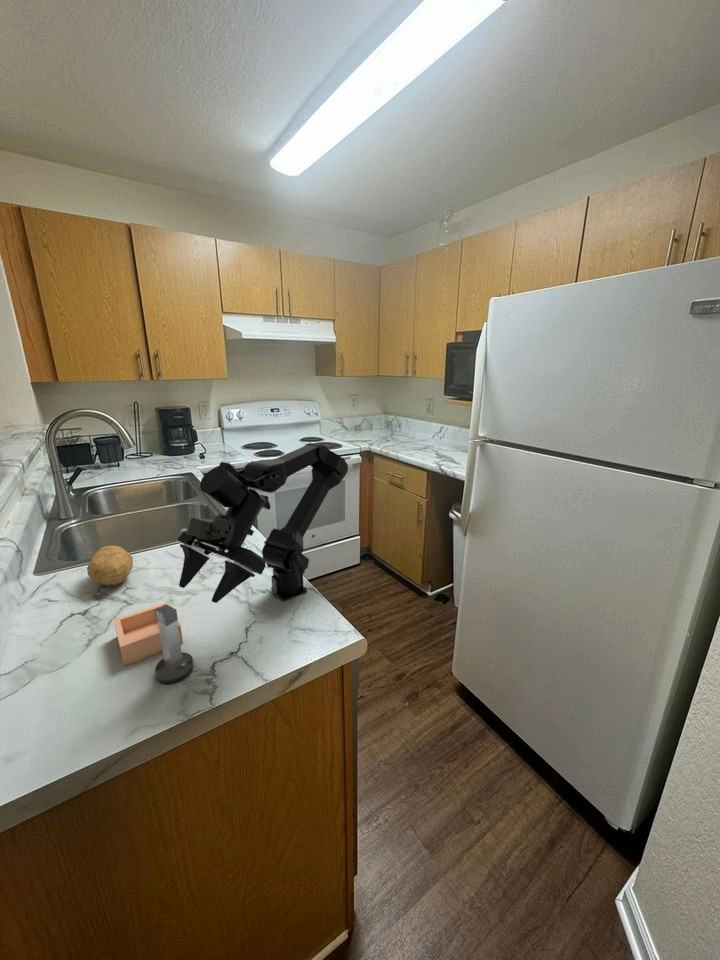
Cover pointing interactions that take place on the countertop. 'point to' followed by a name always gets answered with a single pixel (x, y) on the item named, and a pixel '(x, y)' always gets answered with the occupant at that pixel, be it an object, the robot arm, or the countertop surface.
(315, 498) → the robot arm
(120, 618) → the peach square open box
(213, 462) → the countertop surface
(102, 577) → the potato
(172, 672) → the grey stamp
